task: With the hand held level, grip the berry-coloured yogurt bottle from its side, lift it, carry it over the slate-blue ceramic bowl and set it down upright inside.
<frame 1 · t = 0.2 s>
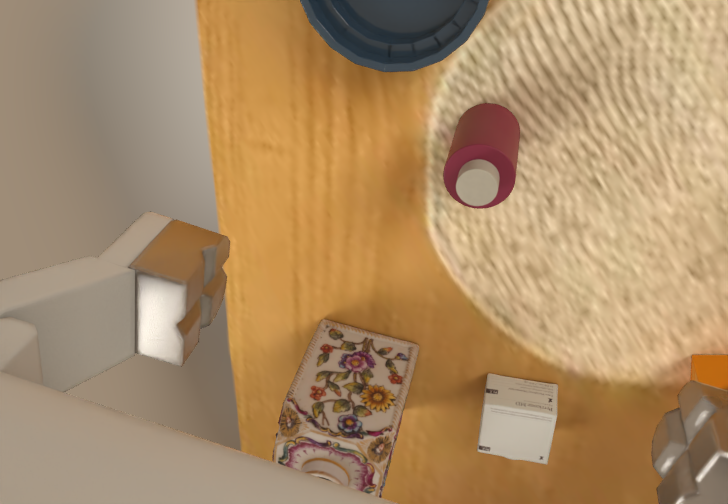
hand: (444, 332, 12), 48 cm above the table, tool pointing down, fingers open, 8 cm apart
small box: (518, 400, 76), on the table
yogurt bottle: (487, 133, 60), on the table
decorative jar: (364, 364, 79), on the table
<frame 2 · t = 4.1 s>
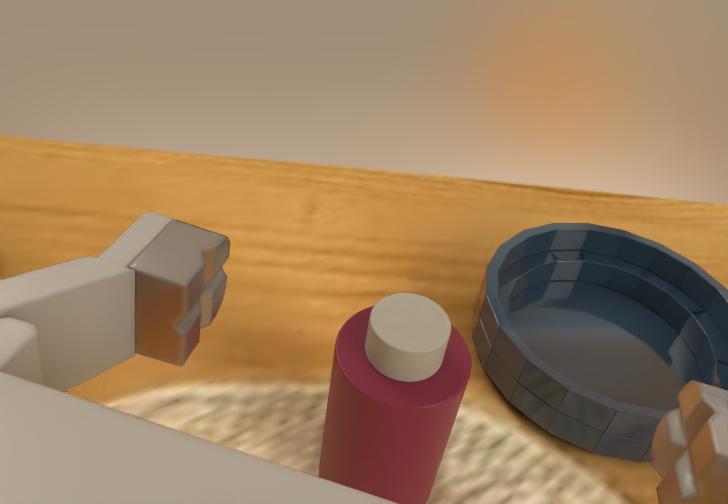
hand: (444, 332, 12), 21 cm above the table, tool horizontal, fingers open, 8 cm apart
bowl: (595, 355, 41), on the table
yogurt bottle: (375, 472, 33), on the table
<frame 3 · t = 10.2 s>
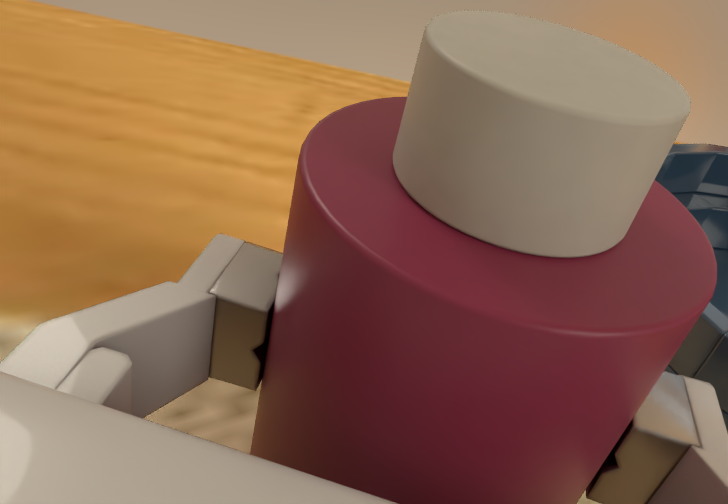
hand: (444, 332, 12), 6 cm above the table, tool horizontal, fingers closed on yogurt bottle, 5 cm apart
when the fingers open (6 cm above the table, at t = 18.2 s): yogurt bottle stays where it is, resting on bowl.
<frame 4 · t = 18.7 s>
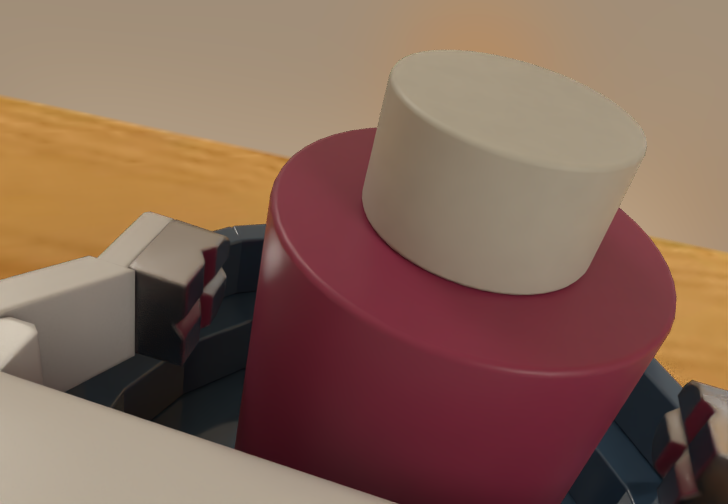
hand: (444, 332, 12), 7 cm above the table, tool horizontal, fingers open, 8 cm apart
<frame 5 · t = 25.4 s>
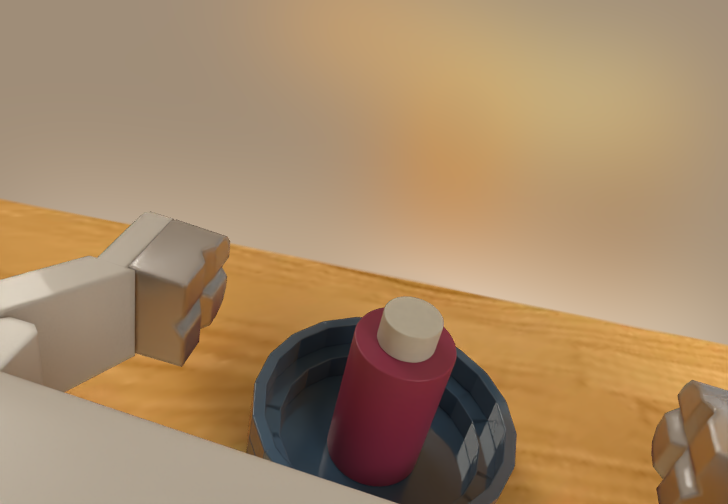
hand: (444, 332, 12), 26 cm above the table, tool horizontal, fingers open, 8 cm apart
bowl: (372, 452, 41), on the table
yogurt bottle: (372, 447, 41), point 1 cm above the table, touching bowl
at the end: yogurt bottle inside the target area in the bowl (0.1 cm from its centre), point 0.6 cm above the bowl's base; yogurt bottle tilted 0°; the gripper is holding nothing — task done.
